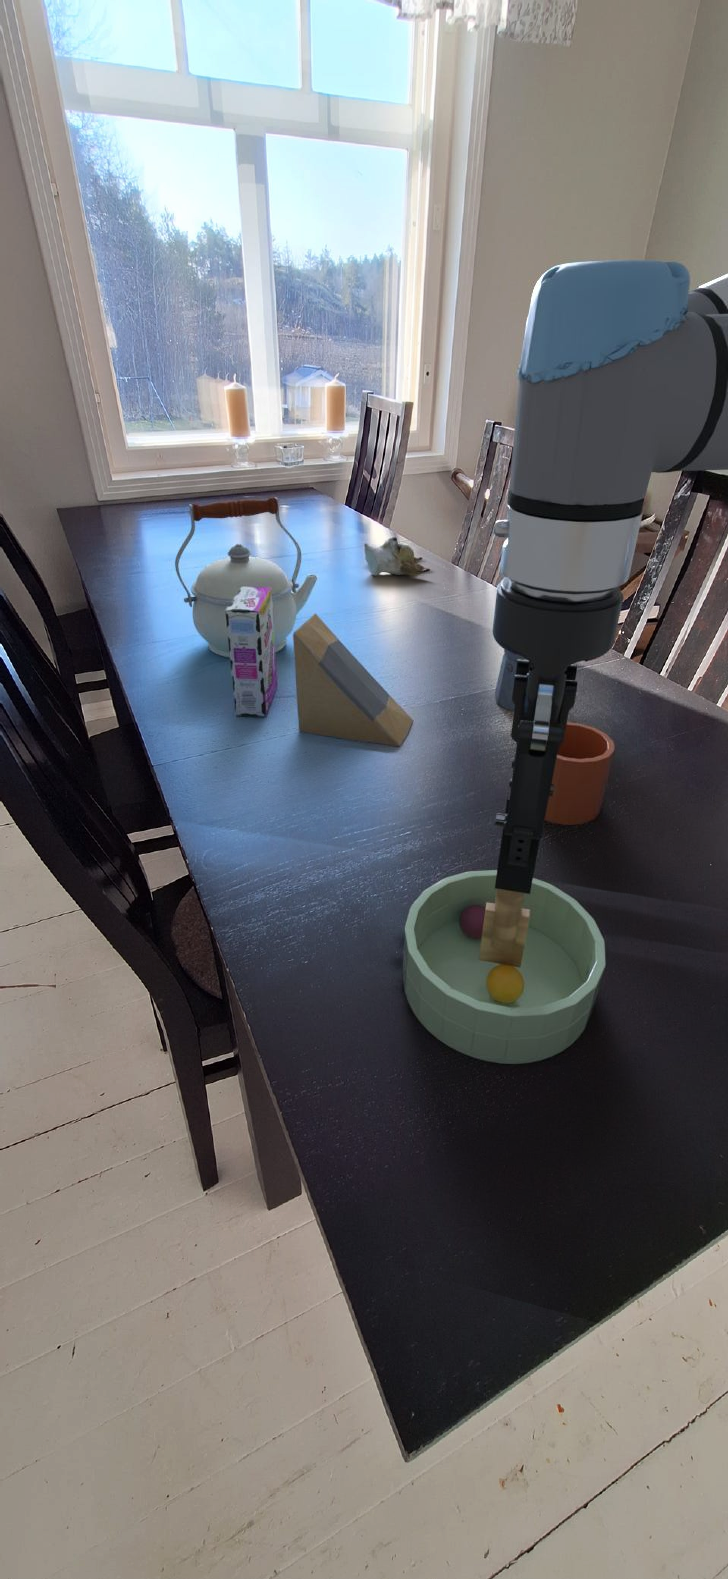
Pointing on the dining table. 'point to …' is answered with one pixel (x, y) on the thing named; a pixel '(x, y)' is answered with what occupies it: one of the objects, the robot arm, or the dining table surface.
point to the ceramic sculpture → (393, 558)
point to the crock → (580, 775)
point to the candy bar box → (252, 650)
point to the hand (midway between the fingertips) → (513, 875)
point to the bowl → (454, 978)
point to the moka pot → (507, 680)
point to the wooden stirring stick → (504, 929)
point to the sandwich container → (341, 691)
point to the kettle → (242, 578)
